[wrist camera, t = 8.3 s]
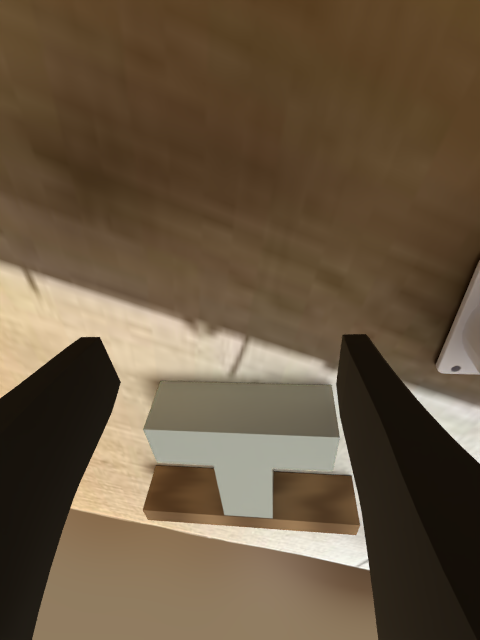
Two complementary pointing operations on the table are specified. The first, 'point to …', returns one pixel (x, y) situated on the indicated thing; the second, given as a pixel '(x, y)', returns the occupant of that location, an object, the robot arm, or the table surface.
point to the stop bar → (288, 514)
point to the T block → (244, 435)
